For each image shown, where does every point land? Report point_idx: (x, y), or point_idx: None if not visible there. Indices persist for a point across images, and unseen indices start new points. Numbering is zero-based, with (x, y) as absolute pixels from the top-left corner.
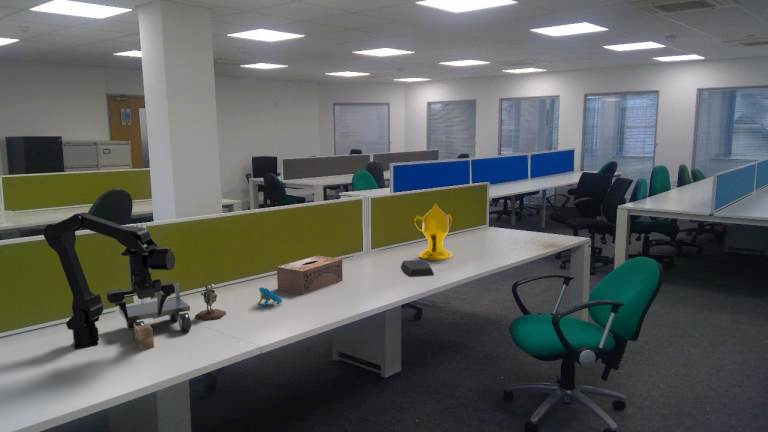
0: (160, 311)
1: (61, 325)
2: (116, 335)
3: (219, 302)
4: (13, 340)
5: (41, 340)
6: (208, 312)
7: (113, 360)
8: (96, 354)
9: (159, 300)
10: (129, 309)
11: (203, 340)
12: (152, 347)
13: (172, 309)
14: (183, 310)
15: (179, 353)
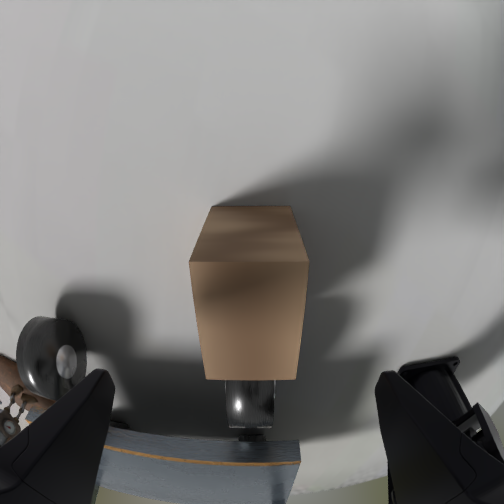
0: (74, 394)
1: (378, 475)
2: (314, 414)
3: None
4: None
5: None
6: (24, 397)
7: (435, 150)
8: (450, 277)
9: (39, 494)
10: (257, 497)
11: (2, 173)
12: (220, 206)
13: None
14: None
15: (111, 36)
